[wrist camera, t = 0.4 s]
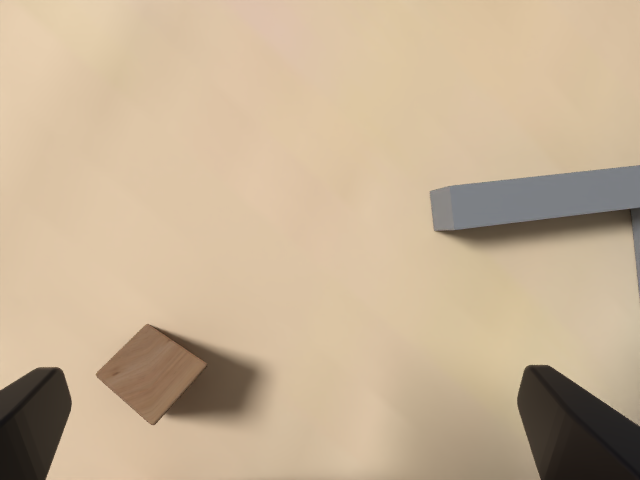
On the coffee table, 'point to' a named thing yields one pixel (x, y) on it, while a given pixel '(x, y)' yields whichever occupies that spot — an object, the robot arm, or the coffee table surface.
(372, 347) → the coffee table surface
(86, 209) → the coffee table surface
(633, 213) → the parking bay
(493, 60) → the coffee table surface
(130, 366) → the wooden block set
